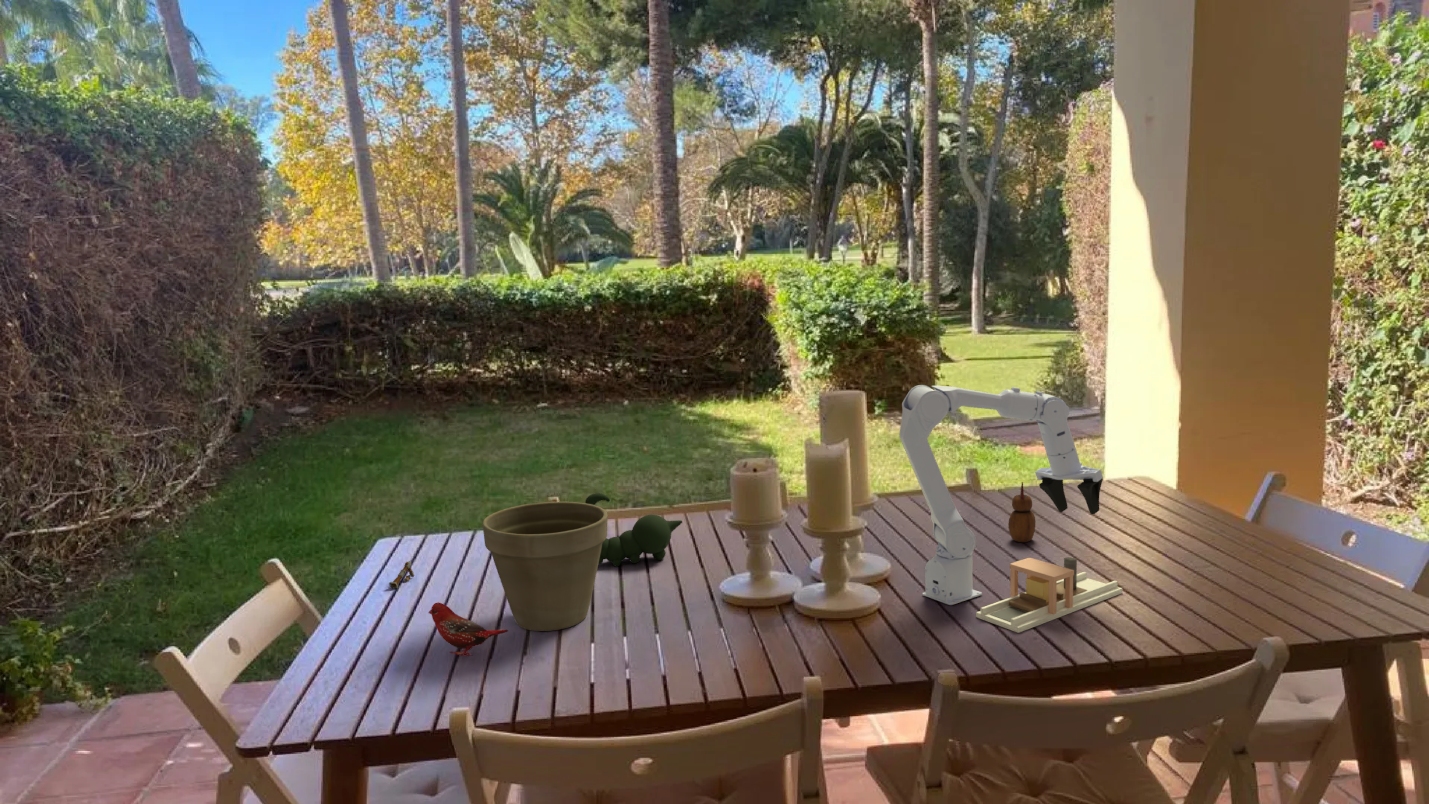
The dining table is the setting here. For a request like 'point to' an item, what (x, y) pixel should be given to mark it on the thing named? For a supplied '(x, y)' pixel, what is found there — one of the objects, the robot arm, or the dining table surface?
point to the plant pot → (547, 560)
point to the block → (1038, 587)
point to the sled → (1033, 603)
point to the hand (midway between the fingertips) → (1079, 511)
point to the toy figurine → (636, 537)
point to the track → (1055, 574)
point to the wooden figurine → (1022, 518)
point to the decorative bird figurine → (459, 629)
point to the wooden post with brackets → (402, 573)
